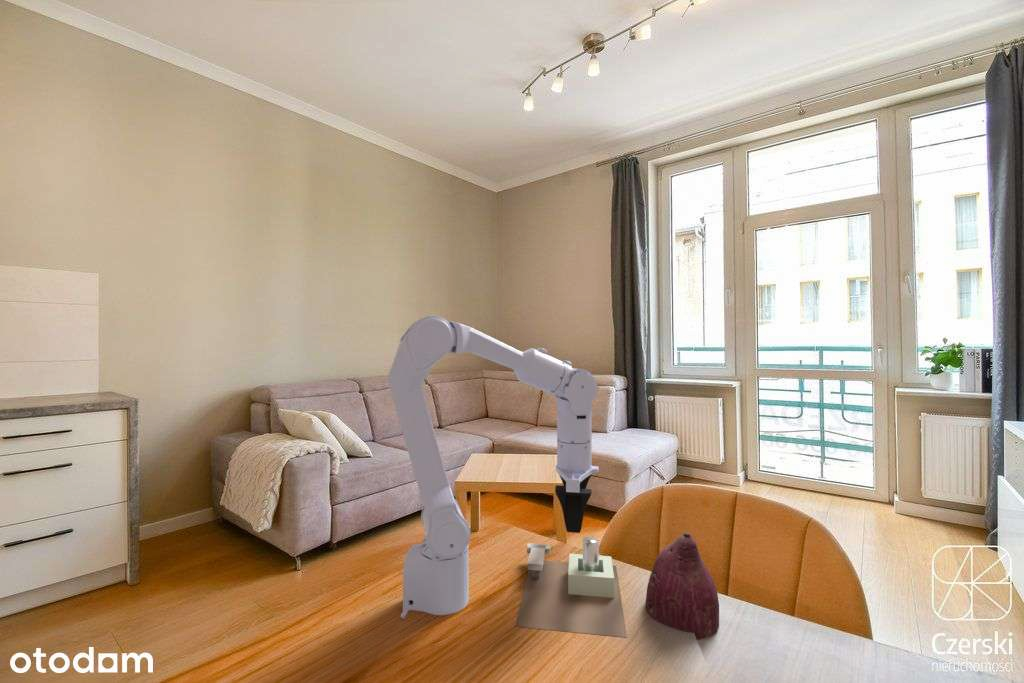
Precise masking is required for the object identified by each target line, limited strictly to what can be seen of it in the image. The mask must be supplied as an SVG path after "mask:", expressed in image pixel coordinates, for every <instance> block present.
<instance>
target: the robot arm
mask: <svg viewBox="0 0 1024 683" xmlns="http://www.w3.org/2000/svg"><path fill="white" fill-rule="evenodd" d="M449 353H450V354H464V353H471V354H473V355H476V356H478V357H481V358H484V359H487V360H489V361H492V362H494V363H496V364H498V365H501V366H504V367H506V368H509V369H512V370H513V371H514V374H515V376H516V378H517V380H518V381H519V382H520V383H522V384H526V385H529V386H531V387H533V388H535V389H538V390H539V391H542V392H545V393H547V394H550V395H553V396H554V397H555V398H556V399H557V402H556V404H557V406H556V411H557V412H556V465H555V472H556V473H557V474H558V475H559V478H560V479H561V483H562V485H559V484H557V485H555V487H554V492H555V496H556V498H558V501H559V503H560V506H561V510H562V514H563V521H564V524H565V525H564V526H565V530H566V532H567V533H576V534H580V533H581V530H582V526H583V520H584V515H585V509H586V506H587V504H588V502H589V500H590V498H591V496H592V492H593V490H592V488H591V489H590V488H587V486H588V483H589V480H591V477H592V474H598V473H599V472H600V469H599V465H598V466H597V465H592V463H593V462H592V460H593V458H592V457H593V456H592V454H593V452H592V451H593V450H592V449H593V448H592V447H593V446H592V443H593V442H592V440H593V438H592V436H593V434H592V432H593V430H592V425H593V423H592V416H593V415H592V413H593V412H592V411H593V402H594V401H595V399H596V398H597V396H598V393H599V389H600V388H599V387H600V386H599V385H597V381H596V378H595V377H594V376H593V374H592V373H591V372H590V371H589V370H586V369H584V368H583V369H582V368H576V367H575V368H574V367H572V364H573V363H572V362H571V361H569V360H563V361H562V360H560V359H557V358H555V357H553V356H551V355H548V350H547V349H545V348H542V347H538V348H533V347H531V348H528V349H526V350H524V351H520V350H519V349H516V348H514V347H512V346H510V345H508V344H506V343H504V342H502V341H500V340H498V339H496V338H494V337H492V336H490V335H488V334H485V333H484V332H481V331H480V330H477V329H476V328H473V327H472V326H468V325H467V324H466V325H465V324H463V323H459V322H457V321H453V320H450V321H448V320H446V319H445V318H443V317H441V316H438V315H434V314H433V315H432V314H431V315H426V316H424V317H421V318H419V319H418V320H416V321H415V322H413V323H412V324H411V325H410V326H409V328H408V329H407V330H406V332H405V333H404V334H403V335H402V336H401V337H400V340H399V343H398V347H397V350H396V352H395V355H394V358H393V361H392V362H391V366H390V369H389V372H388V375H387V382H388V386H389V390H390V394H391V397H392V401H393V404H394V407H395V408H394V409H395V411H396V415H397V418H398V420H399V421H398V422H399V424H400V428H401V432H402V435H403V438H404V442H405V446H406V449H407V451H408V457H409V459H410V462H411V466H412V470H413V473H414V478H415V480H416V484H417V488H418V491H419V494H420V498H421V501H422V509H421V516H420V519H421V524H422V526H423V528H424V532H425V536H424V537H423V540H422V542H421V543H420V544H413V545H410V547H409V549H408V550H407V552H406V554H405V557H404V562H403V569H402V612H401V614H400V618H401V619H405V617H406V615H407V614H408V612H409V611H418V612H424V613H427V614H431V615H435V616H447V615H448V616H449V615H452V614H455V613H458V612H460V611H462V610H463V609H464V608H465V607H467V605H468V604H469V601H470V599H469V597H470V596H469V592H470V591H469V586H470V585H469V581H470V580H469V579H470V578H469V571H470V570H469V569H470V568H469V543H470V540H471V534H472V532H471V528H470V527H471V526H470V525H469V522H468V521H467V520H466V519H465V516H464V515H463V513H462V510H461V507H460V504H459V502H458V501H457V499H455V497H454V494H453V492H452V488H451V486H450V482H449V478H448V476H447V471H446V467H445V464H444V461H443V457H442V455H441V451H440V447H439V443H438V440H437V436H436V433H435V429H434V426H433V421H432V419H431V416H430V410H429V408H428V404H427V401H426V397H425V394H424V390H423V387H422V385H423V382H424V381H425V379H426V378H427V376H428V375H429V373H430V372H431V371H432V369H433V367H434V366H435V365H436V364H438V362H440V361H441V360H442V359H443V358H445V356H447V355H448V354H449Z"/></svg>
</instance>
